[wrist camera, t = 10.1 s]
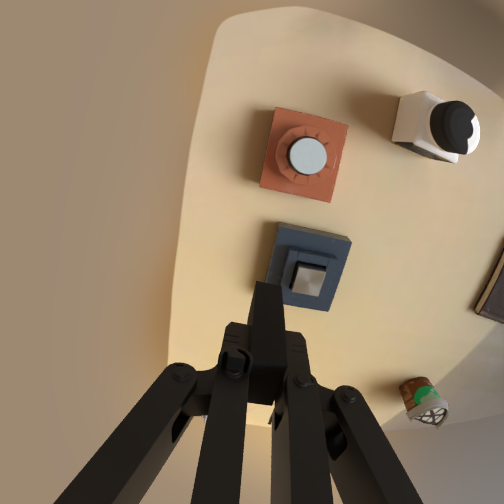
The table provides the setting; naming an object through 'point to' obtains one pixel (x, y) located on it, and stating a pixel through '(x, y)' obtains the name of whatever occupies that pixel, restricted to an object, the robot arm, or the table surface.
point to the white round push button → (307, 155)
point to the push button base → (307, 251)
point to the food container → (424, 402)
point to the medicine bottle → (435, 127)
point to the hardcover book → (493, 294)
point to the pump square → (308, 279)
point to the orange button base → (277, 155)
